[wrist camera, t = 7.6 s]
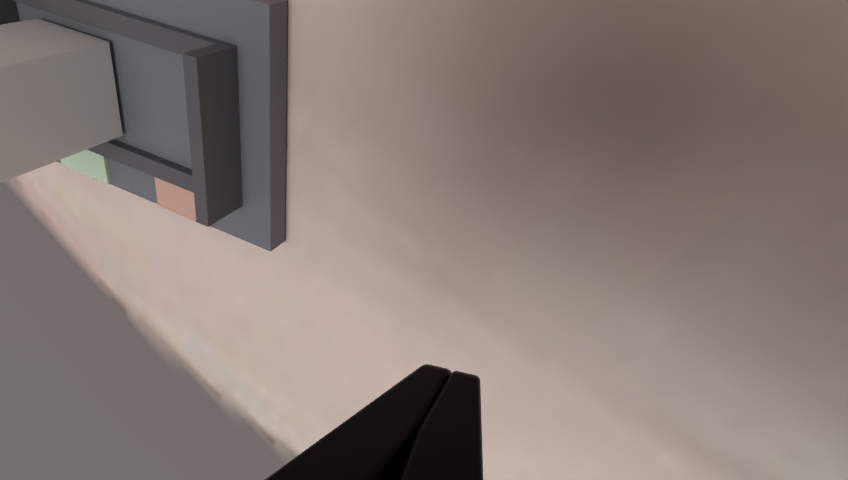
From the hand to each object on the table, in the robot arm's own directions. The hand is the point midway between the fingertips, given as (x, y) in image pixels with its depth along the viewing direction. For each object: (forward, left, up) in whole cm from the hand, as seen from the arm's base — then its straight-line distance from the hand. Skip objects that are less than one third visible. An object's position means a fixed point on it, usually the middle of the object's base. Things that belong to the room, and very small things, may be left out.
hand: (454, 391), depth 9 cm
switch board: (+14, +13, -12) cm, 23 cm away
